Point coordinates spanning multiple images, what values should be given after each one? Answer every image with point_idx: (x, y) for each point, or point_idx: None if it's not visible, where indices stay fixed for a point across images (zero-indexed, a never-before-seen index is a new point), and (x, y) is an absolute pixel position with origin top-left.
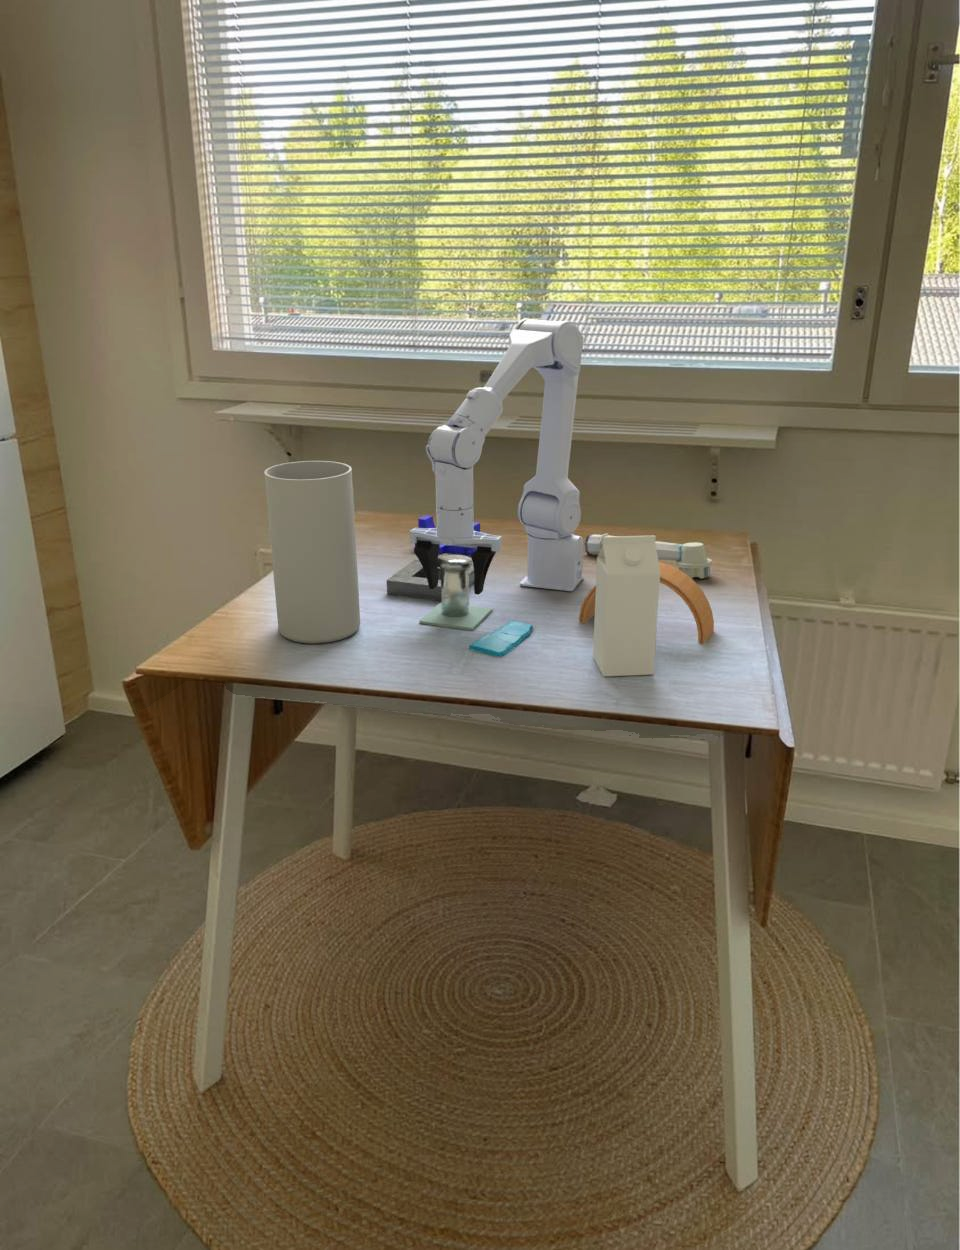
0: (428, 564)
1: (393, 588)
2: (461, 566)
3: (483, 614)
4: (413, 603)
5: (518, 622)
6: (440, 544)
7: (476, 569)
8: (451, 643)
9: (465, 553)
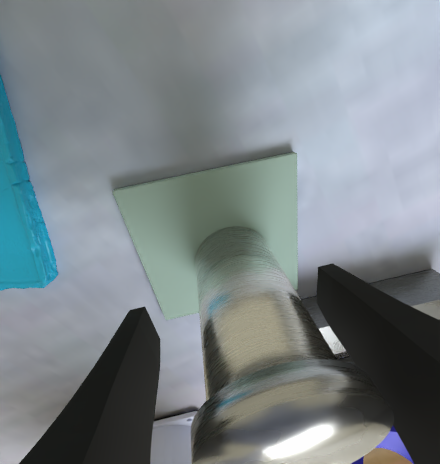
0: (433, 351)
1: (431, 283)
2: (209, 425)
3: (159, 284)
4: (358, 258)
5: (19, 283)
6: (388, 436)
7: (71, 445)
8: (88, 32)
9: None
